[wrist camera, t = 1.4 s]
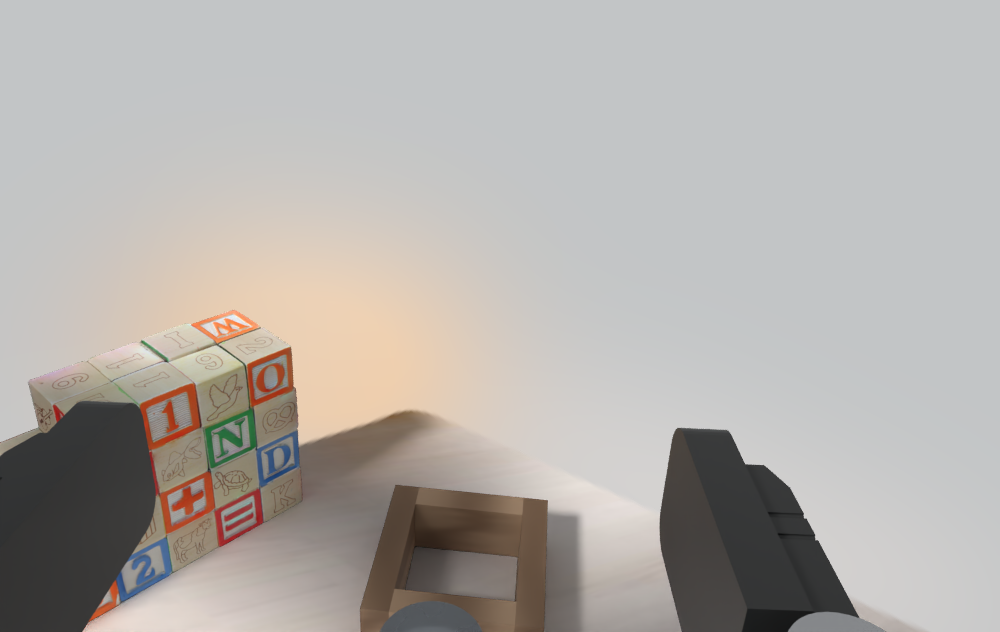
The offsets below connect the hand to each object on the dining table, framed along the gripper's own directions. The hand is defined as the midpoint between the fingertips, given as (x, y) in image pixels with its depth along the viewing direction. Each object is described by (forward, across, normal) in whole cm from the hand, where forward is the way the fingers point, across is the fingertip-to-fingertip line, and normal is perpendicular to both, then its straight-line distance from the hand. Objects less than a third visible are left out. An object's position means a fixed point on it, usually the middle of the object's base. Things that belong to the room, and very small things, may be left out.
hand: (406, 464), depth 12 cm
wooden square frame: (+25, 0, +27) cm, 36 cm away
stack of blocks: (+26, +20, +26) cm, 42 cm away
